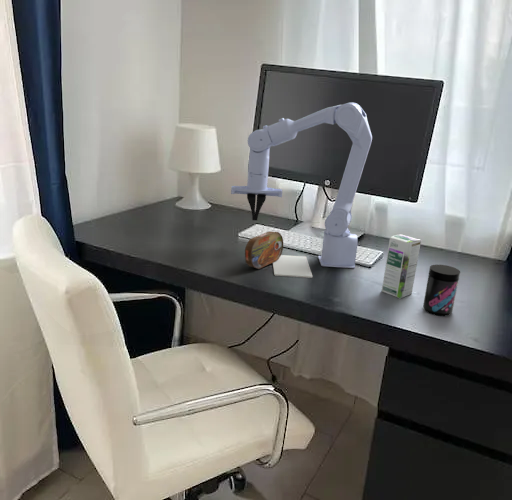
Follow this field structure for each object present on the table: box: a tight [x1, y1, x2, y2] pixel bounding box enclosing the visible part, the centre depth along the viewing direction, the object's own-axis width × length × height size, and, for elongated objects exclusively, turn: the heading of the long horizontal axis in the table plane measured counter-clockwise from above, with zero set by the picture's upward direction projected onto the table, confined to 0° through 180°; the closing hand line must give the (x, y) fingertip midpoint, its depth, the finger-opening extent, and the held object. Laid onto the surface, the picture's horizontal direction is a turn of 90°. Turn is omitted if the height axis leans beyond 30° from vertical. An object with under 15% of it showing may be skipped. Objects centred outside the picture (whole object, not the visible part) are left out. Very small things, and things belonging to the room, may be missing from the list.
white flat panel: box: [272, 254, 313, 279], centre depth 153 cm, size 10×16×1 cm, turn 1°
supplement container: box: [422, 264, 461, 317], centre depth 129 cm, size 7×7×10 cm
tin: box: [244, 231, 284, 270], centre depth 151 cm, size 15×3×8 cm, turn 143°
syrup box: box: [381, 234, 422, 300], centre depth 137 cm, size 6×6×14 cm
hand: (254, 219), depth 161 cm, fingers closed
